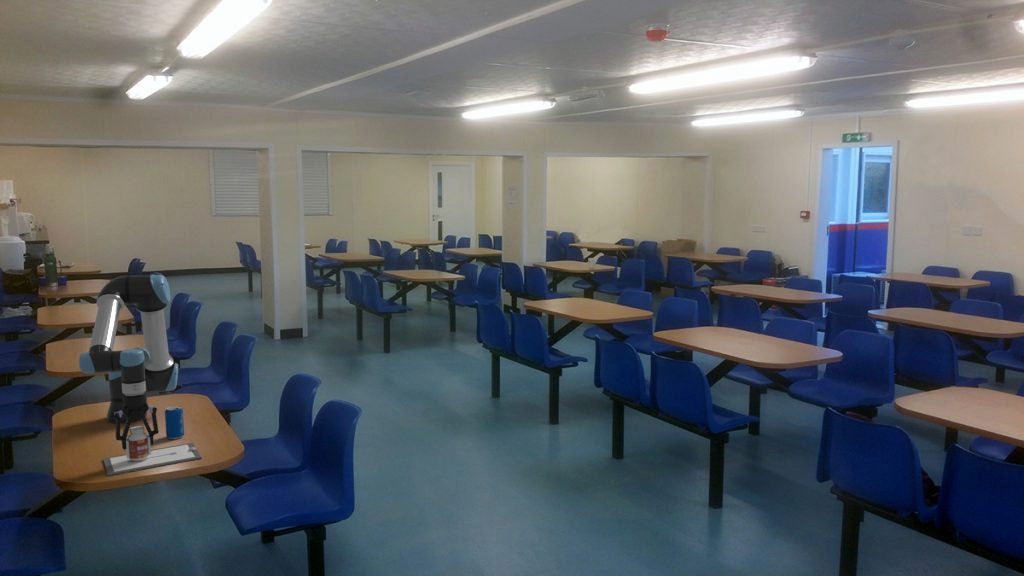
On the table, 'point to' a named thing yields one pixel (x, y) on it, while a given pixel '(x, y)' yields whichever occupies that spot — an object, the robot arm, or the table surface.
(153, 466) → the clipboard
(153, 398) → the table surface
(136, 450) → the pill bottle
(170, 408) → the beverage can
